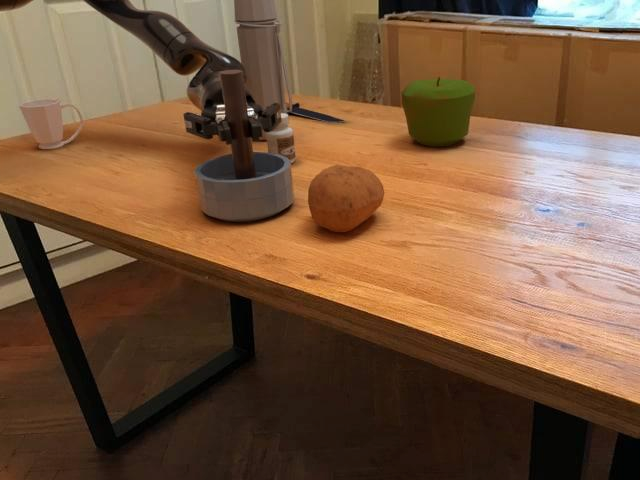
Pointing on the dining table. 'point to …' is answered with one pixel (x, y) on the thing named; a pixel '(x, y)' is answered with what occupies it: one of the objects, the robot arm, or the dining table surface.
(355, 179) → the potato
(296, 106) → the knife
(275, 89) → the water bottle
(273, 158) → the bowl
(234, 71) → the stick
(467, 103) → the apple
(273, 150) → the pill bottle
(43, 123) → the cup
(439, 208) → the dining table surface
